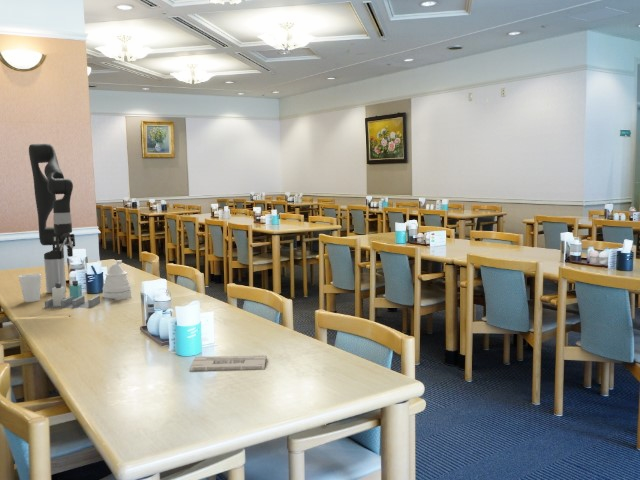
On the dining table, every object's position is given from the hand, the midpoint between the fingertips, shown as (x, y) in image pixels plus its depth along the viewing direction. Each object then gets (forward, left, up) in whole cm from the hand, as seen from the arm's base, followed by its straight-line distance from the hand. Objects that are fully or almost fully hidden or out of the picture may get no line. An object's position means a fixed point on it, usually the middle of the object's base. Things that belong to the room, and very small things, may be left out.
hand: (65, 257), depth 264 cm
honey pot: (-11, +19, -22) cm, 31 cm away
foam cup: (-3, -18, -21) cm, 28 cm away
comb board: (+9, +6, -21) cm, 24 cm away
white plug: (+9, 0, -20) cm, 22 cm away
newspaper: (+94, +87, -22) cm, 130 cm away
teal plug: (-2, +3, -21) cm, 22 cm away
